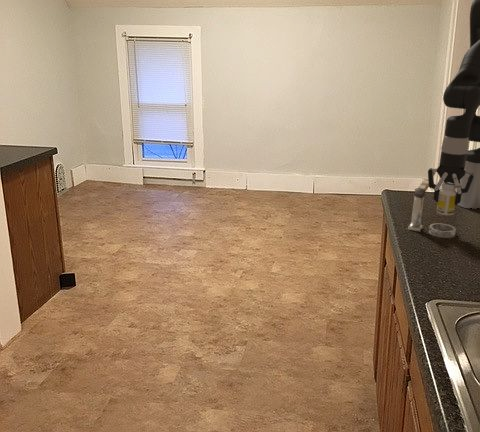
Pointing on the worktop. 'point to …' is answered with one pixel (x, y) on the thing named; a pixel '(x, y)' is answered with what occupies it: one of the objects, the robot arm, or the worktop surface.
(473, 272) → the worktop surface
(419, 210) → the frame
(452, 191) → the supplement bottle
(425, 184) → the bar
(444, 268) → the worktop surface
